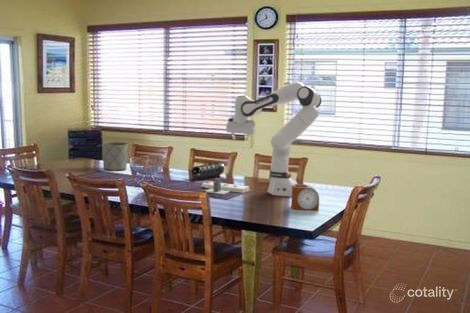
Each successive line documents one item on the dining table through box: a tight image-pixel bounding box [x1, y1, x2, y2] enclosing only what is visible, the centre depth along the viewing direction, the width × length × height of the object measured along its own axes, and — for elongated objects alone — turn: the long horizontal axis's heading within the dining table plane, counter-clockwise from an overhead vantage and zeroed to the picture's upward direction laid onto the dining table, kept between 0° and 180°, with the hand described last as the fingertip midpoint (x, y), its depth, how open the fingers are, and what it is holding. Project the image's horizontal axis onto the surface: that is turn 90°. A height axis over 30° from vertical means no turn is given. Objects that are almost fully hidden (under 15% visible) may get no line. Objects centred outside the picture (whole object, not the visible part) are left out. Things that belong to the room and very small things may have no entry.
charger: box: [213, 177, 222, 192], centre depth 339 cm, size 3×4×8 cm
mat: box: [205, 188, 231, 195], centre depth 340 cm, size 14×9×1 cm, turn 65°
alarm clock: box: [290, 183, 320, 211], centre depth 303 cm, size 15×8×14 cm, turn 90°
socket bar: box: [201, 180, 250, 194], centre depth 351 cm, size 30×10×3 cm, turn 65°
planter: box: [101, 141, 129, 172], centre depth 408 cm, size 19×19×20 cm
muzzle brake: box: [191, 162, 226, 181], centre depth 388 cm, size 10×28×10 cm, turn 144°
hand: (240, 140), depth 361 cm, fingers open, 8 cm apart
